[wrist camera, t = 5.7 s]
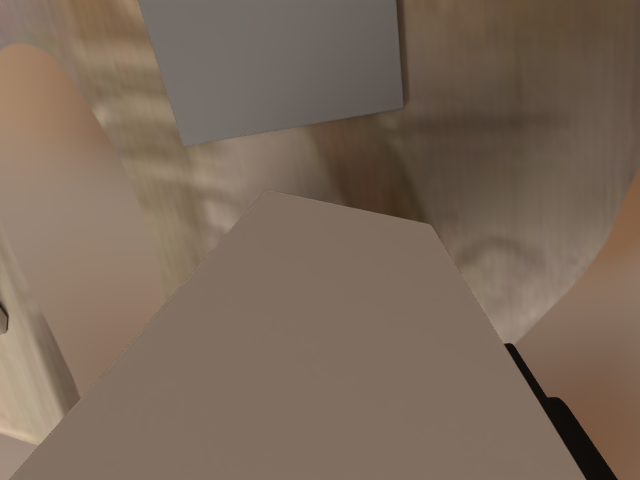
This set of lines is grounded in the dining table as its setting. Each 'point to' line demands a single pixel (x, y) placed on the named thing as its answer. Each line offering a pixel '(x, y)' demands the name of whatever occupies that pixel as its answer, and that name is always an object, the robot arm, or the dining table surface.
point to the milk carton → (312, 367)
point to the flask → (3, 322)
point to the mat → (273, 62)
